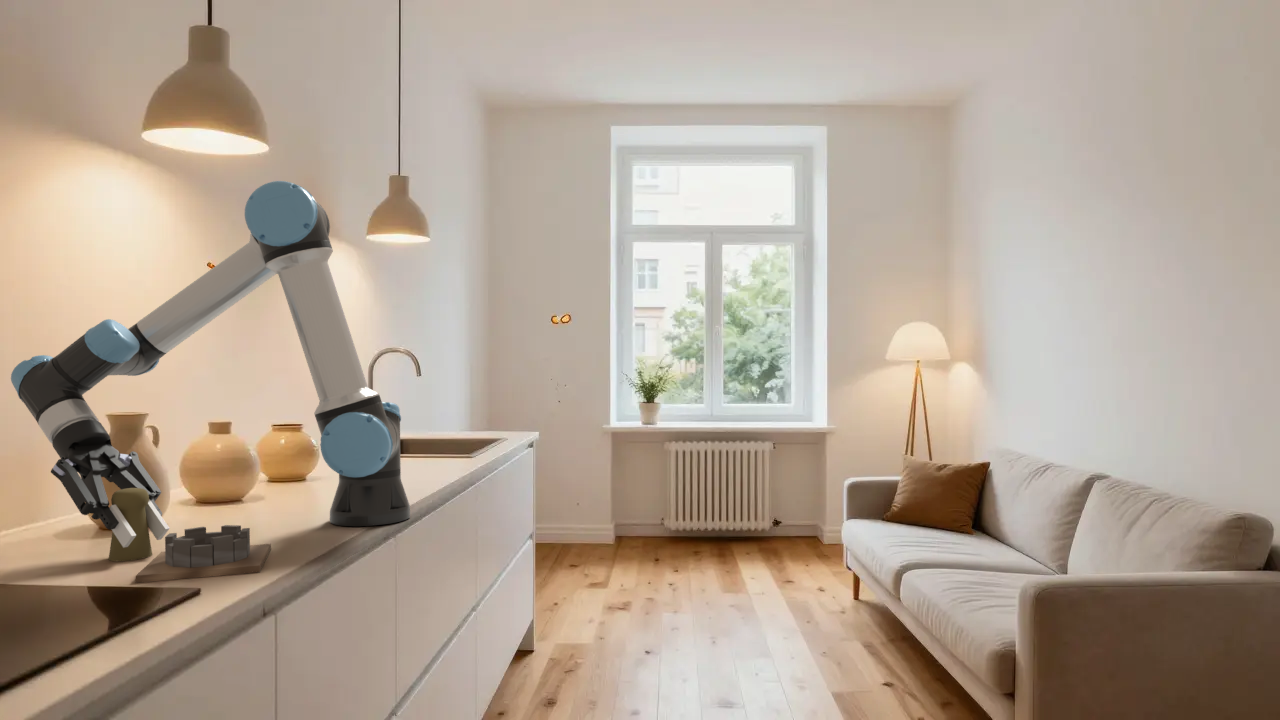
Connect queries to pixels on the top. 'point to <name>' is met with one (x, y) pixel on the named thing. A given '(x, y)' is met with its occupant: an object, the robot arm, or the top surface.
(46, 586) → the top surface
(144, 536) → the cork
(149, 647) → the top surface
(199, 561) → the collar
